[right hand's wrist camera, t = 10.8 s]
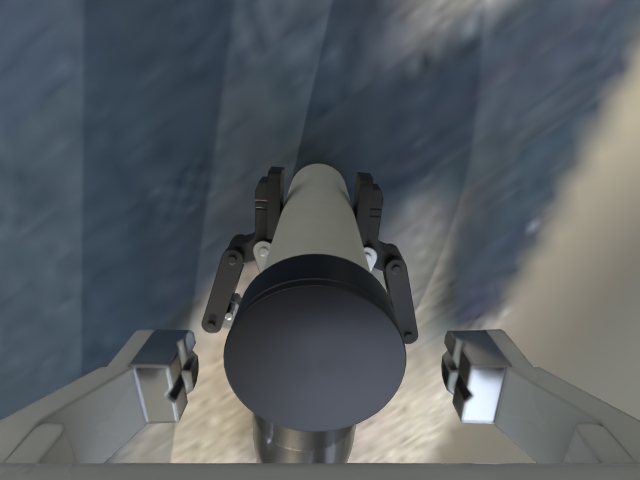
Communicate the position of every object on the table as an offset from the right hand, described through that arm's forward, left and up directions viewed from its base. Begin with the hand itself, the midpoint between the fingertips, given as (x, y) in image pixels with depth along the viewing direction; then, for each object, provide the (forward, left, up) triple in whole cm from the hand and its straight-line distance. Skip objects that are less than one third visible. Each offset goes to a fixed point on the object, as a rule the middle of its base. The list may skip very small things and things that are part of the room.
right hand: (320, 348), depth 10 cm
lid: (0, 0, 0) cm, 1 cm away
